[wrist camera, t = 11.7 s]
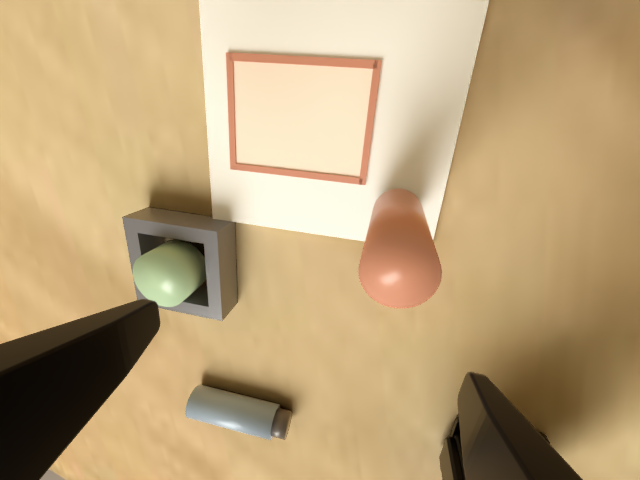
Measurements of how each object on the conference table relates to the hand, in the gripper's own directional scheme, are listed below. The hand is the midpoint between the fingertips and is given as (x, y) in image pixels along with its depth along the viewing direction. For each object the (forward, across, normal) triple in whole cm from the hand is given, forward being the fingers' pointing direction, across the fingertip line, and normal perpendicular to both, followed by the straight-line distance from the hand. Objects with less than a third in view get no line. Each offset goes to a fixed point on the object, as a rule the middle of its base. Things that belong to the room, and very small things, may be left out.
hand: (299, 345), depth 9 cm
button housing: (+13, +12, +5) cm, 18 cm away
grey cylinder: (+12, +7, +20) cm, 25 cm away
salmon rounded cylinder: (+12, -3, -1) cm, 13 cm away
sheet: (+13, +2, -5) cm, 14 cm away
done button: (+11, +12, +5) cm, 17 cm away
